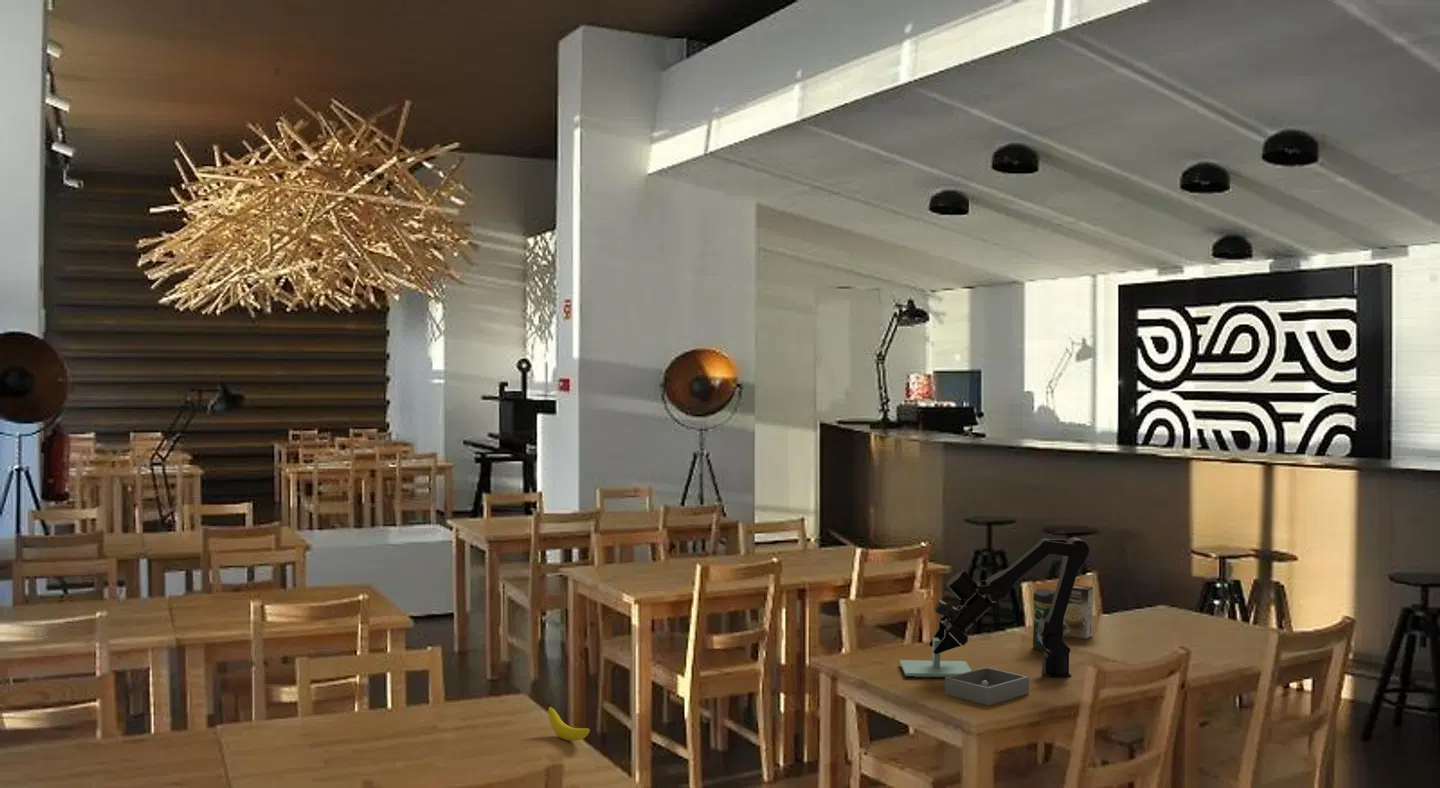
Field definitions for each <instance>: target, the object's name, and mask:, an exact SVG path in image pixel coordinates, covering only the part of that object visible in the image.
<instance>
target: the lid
mask: <svg viewBox="0 0 1440 788" xmlns="http://www.w3.org/2000/svg"><path fill="white" fill-rule="evenodd" d="M932 638H933V637H932ZM939 643H940V640H939V638H933V647H932V657H931V659H932V660H919V659H918V660H916V659H912V660H911V659H910V660H909V659H906V660H905V659H899V664H900V666H901V668H902V670H903V674H904V676H905V677H911V676H914V677H913V678H930V677H950V676H954V675H958V674H961V673H965V672H969V671H973V670H972V669H971V667H970V666H969V664H968V662H967V661H966V660H941V653H938V654H935V653H934V652H933V651H934V650H935V648H936V647H937V645H938V644H939Z"/></svg>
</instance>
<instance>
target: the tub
mask: <svg viewBox="0 0 1440 788" xmlns="http://www.w3.org/2000/svg"><path fill="white" fill-rule="evenodd" d="M1029 688H1030V677H1029V676H1027V675H1022V674H1019V673H1014V672H1009V671H1006V670H1001V669H996V668H991V667H988V666H987V667H986V666H985V667H981V668H977V669H973V670H972V671H969V672H965V673H961V674H958V675H954V676H950V677H946V678H944V695H945V694H947V695H946V696H949V695H951V696H950V697H953V696H955V697H954V698H957V697H958V698H957V699H961V698H963V699H962V700H964V699H967V700H966V701H968V700H971V701H970V702H972V701H974V702H973V703H976V702H977V704H980V703H981V704H980V705H984V704H985V706H991V705H995V704H998V703H1002V702H1005V701H1009V700H1012V699H1014V698H1015V697H1016V698H1018V696H1019V697H1022V696H1025V695H1024V694H1026V695H1029V694H1028V693H1030V689H1029ZM1021 695H1022V696H1021Z"/></svg>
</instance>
